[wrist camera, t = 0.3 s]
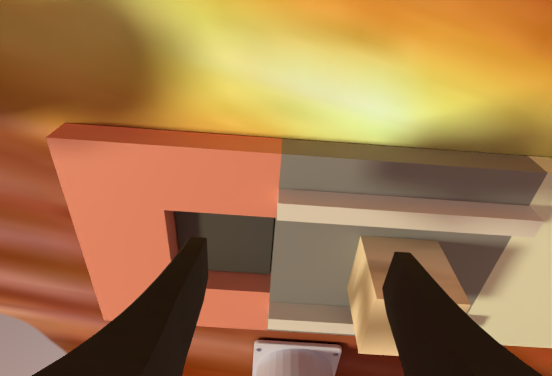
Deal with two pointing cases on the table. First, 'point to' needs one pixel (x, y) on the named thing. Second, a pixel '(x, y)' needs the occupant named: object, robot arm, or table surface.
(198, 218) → the chute board
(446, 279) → the maple block
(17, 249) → the table surface
